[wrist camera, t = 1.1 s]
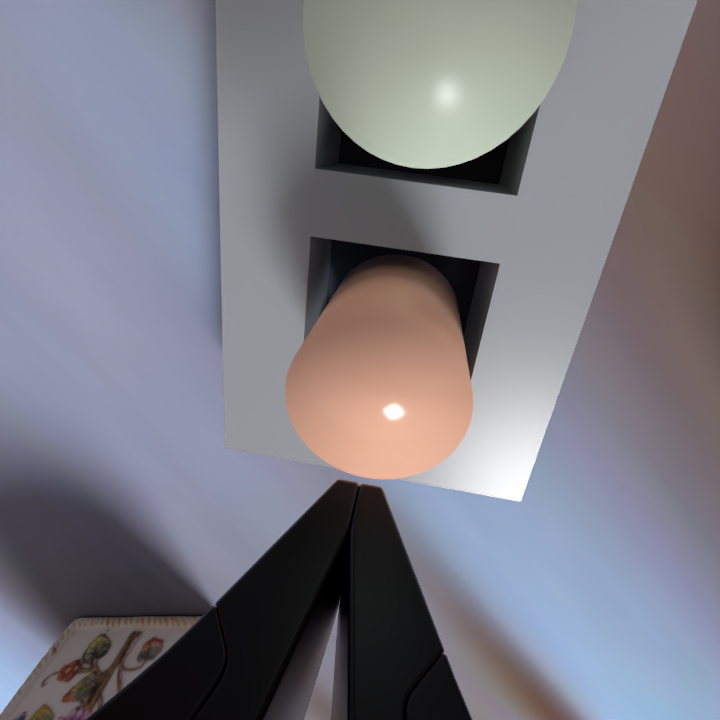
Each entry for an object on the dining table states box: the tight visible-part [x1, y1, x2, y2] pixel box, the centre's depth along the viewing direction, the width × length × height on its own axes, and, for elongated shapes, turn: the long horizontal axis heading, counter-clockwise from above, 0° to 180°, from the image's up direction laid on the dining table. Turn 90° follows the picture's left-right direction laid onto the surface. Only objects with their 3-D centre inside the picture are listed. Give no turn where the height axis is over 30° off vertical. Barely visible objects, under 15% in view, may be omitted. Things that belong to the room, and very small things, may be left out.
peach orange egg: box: [285, 254, 473, 479], centre depth 15 cm, size 5×5×6 cm
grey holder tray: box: [215, 0, 697, 502], centre depth 14 cm, size 12×28×4 cm, turn 174°
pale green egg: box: [303, 0, 577, 169], centre depth 11 cm, size 5×5×6 cm
